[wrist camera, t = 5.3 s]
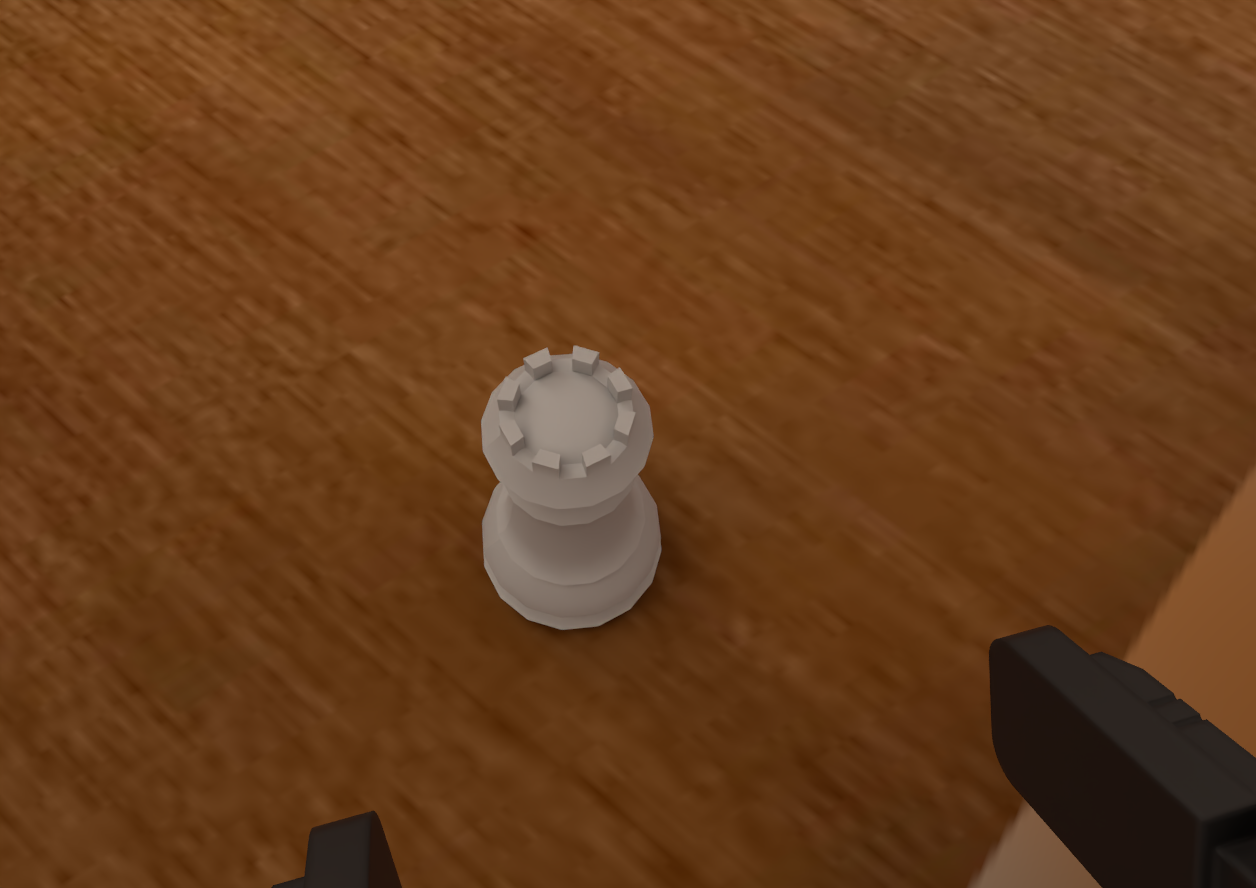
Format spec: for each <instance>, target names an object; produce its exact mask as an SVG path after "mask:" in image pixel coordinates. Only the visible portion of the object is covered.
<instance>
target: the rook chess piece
mask: <svg viewBox="0 0 1256 888" xmlns="http://www.w3.org/2000/svg"><path fill="white" fill-rule="evenodd" d="M481 428H482V445H483V453H484V455H485V456H486V458H487V460H488V462H489V464H490V466H491V468H492V469H493V471H494V473H495V475H496V477H497V479H498V480H499V481H501V482H500V483H499V484H498V485H497V486H496V487H495V489H494V491H493V494H492V496H491V499H490V502H489V504H488V507H487V510H486V512H485V515H484V518H483V520H482V529H483V549H484V567H485V569H486V571H487V573H488V575H489V577H490V579H491V581H492V583H493V584H494V586H495V588H496V590H497V592H498V594H499V596H500V598H501V599H503V600H504V601H505V602H506V603H508V604H509V605H510V606H511V607H512V608H514V609H515V610H516V611H517V612H519V613H520V614H521V615H522V616H524V617H525V618H526V619H527V620H530V621H534V622H537V623H540V624H544V625H547V626H551V627H554V628H557V629H561V630H566V629H576V628H586V627H596V626H600V625H602V624H603V623H605V622H607V621H609V620H611V619H613V618H615V617H617V616H619V615H620V614H622V613H624V612H626V611H628V610H630V609H631V608H632V606H633V605H634V604H635V603H636V602H637V600H638V599H639V598H640V597H641V595H642V594H643V593H644V592H645V591H646V589H647V588H648V587H649V586H650V584H651V583H652V581H653V578H654V574H655V571H656V568H657V564H658V561H659V557H660V554H661V550H662V549H661V542H660V540H661V533H660V526H659V519H658V511H657V505H656V503H655V502H654V500H653V498H652V497H651V495H650V493H649V492H648V490H647V488H646V487H645V485H644V483H643V482H642V480H641V478H640V477H639V475H638V473H639V472H640V471H641V470H642V469H643V467H644V466H645V463H646V460H647V457H648V453H649V450H650V447H651V443H652V440H653V437H654V436H653V429H652V421H651V414H650V407H649V405H648V403H647V402H646V400H645V399H644V397H643V395H642V394H641V392H640V390H639V389H638V387H637V386H636V384H635V382H634V381H633V380H632V379H631V378H629V377H628V376H626V375H625V374H624V373H623V372H622V370H621V368H620V367H619V368H618V369H617V368H615V367H614V366H612V365H611V364H610V363H608V362H606V361H602V360H599V352H596V351H593V350H589V349H585V348H581V347H578V346H574V348H573V354H565V355H553V356H550V354H549V351H548V348H545V349H543V350H541V351H539V352H536V353H534V354H532V355H530V356H528V357H525V358H524V365H523V366H521V367H519V368H517V369H515V370H513V372H512V373H511V374H510V375H509V376H508V377H505V380H504V381H503V382H502V383H501V384H500V385H499V386H498V387H497V388H496V389H495V390H494V391H493V392H492V394H491V397H490V399H489V402H488V404H487V407H486V410H485V412H484V415H483V417H482V420H481Z"/></svg>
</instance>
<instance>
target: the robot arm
mask: <svg viewBox="0 0 1256 888" xmlns="http://www.w3.org/2000/svg"><path fill="white" fill-rule="evenodd" d="M989 668H990V695H991V723H992V739H993V745H994V748H995V752H996V755H997V758H998V760H999V763H1000V765H1001V767H1002V769H1003V771H1004V773H1005V775H1006V777H1007V778H1008V780H1009V781H1010V782H1011V784H1012V785H1013V786H1014V787H1015V789H1016V790H1017V791H1018V792H1019V793H1020V794H1021V795H1022V797H1023V798H1024V799H1025V800H1026V801H1027V802H1028V803H1029V805H1030V806H1031V807H1032V808H1033V809H1034V810H1035V811H1036V813H1037V814H1038V815H1039V816H1040V817H1041V818H1042V819H1043V821H1044V822H1045V823H1046V824H1047V825H1048V826H1049V827H1050V829H1051V830H1052V831H1053V832H1054V833H1055V834H1056V835H1057V836H1058V838H1059V839H1060V840H1061V841H1062V842H1063V843H1064V845H1066V847H1067V848H1068V849H1069V850H1070V851H1071V852H1072V854H1073V855H1074V856H1075V857H1076V858H1077V859H1078V860H1079V862H1080V863H1081V864H1082V865H1083V866H1084V867H1085V868H1086V870H1087V871H1088V872H1089V873H1090V874H1091V875H1092V877H1093V878H1094V879H1095V880H1096V881H1097V882H1098V883H1099V885H1100V886H1101V887H1102V888H1256V758H1255V757H1254V756H1253V755H1251V754H1250V753H1249V752H1247V751H1246V750H1245V749H1244V748H1242V747H1241V746H1240V745H1239V744H1237V743H1236V742H1235V741H1234V740H1232V739H1231V738H1230V737H1228V736H1227V735H1226V734H1225V733H1223V732H1222V731H1221V730H1219V729H1218V728H1217V727H1216V726H1214V725H1213V724H1212V723H1211V722H1209V721H1208V720H1207V719H1206V720H1202V719H1201V717H1200V714H1199V713H1198V712H1197V711H1195V710H1194V709H1193V708H1192V707H1190V706H1189V705H1188V704H1187V703H1185V702H1184V701H1183V700H1181V699H1178V700H1177V699H1176V698H1175V696H1174V693H1173V692H1171V691H1170V690H1169V689H1167V688H1166V687H1165V686H1164V685H1162V684H1161V683H1160V682H1159V681H1157V680H1156V679H1155V678H1154V677H1152V676H1151V675H1150V674H1148V673H1147V672H1146V671H1145V670H1143V669H1141V668H1139V667H1137V666H1134V665H1132V664H1129V663H1127V662H1125V661H1122V660H1120V659H1117V658H1115V657H1113V656H1110V655H1108V654H1105V653H1103V652H1099V653H1095V654H1092V655H1089V654H1088V653H1086V652H1085V651H1084V650H1083V649H1082V648H1080V647H1079V646H1078V645H1077V644H1075V643H1074V642H1073V641H1072V640H1071V639H1069V638H1068V637H1067V636H1066V635H1065V634H1063V633H1062V632H1061V631H1060V630H1058V629H1057V628H1055V627H1053V626H1050V625H1047V626H1042V627H1039V628H1035V629H1031V630H1028V631H1024V632H1021V633H1017V634H1014V635H1010V636H1006V637H1003V638H999V639H996V640H994V641H993V642H992V644H991V646H990V650H989ZM272 888H402V886H401V883H400V880H399V877H398V874H397V871H396V868H395V865H394V862H393V859H392V855H391V852H390V849H389V846H388V843H387V840H386V837H385V834H384V831H383V828H382V825H381V822H380V819H379V817H378V815H377V813H376V812H375V811H371V812H367V813H364V814H360V815H356V816H353V817H349V818H346V819H342V820H338V821H335V822H331V823H328V824H324V825H320V826H317V827H314V828H312V829H311V832H310V835H309V842H308V851H307V860H306V868H305V877H301V878H298V879H294V880H291V881H287V882H284V883H280V884H277V885H273V886H272Z"/></svg>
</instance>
